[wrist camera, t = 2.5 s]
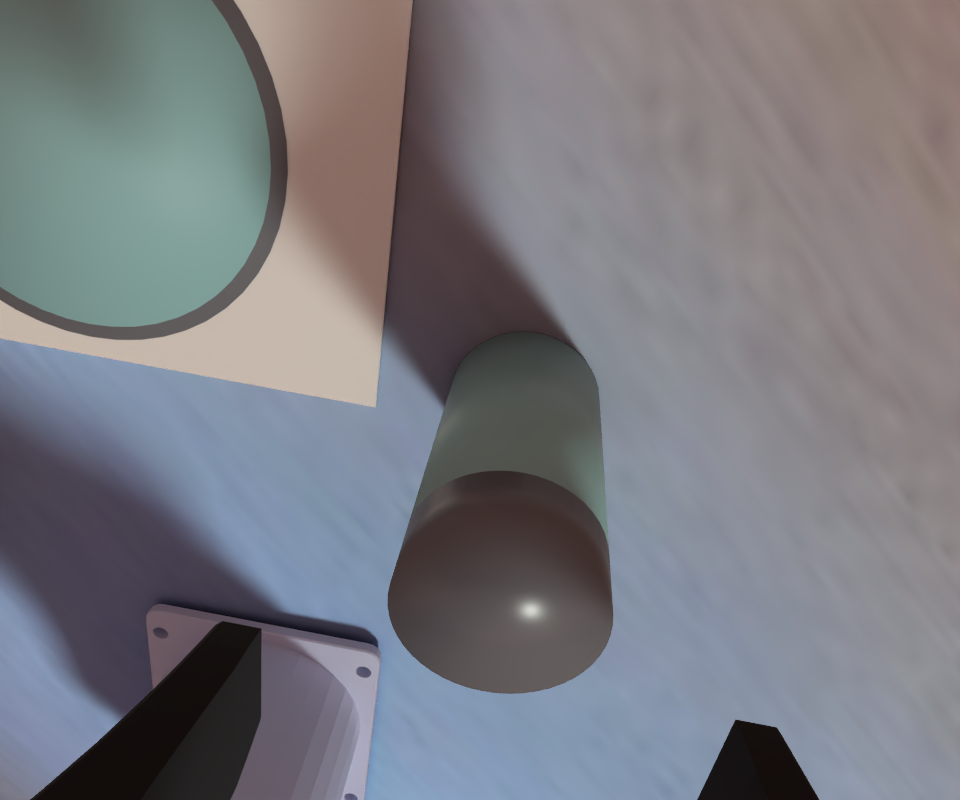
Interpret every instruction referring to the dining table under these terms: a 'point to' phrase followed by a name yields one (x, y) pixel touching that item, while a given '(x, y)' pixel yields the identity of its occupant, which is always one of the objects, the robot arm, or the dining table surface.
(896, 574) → the dining table surface
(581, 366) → the green capped cylinder
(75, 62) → the picture sheet
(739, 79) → the dining table surface
